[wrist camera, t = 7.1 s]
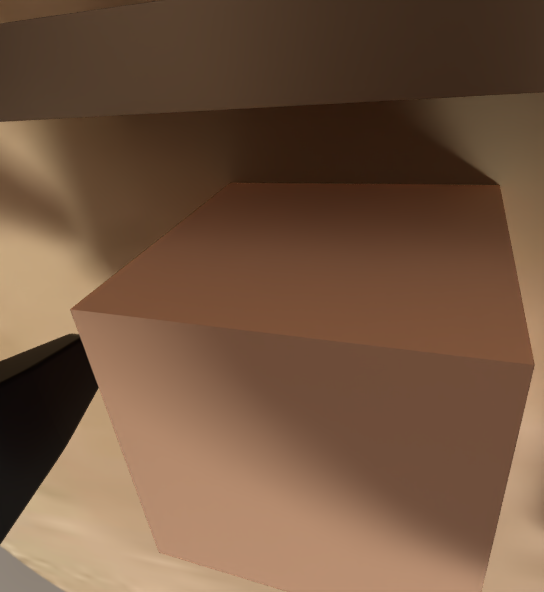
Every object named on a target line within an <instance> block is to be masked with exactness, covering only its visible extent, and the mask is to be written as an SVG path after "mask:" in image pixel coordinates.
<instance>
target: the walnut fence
mask: <svg viewBox="0 0 544 592" xmlns="http://www.w3.org/2000/svg"><path fill="white" fill-rule="evenodd" d="M539 92H544V0H160V1H153V2H146V3H139V4H132V5H125V6H119V7H112V8H105V9H98V10H91V11H84V12H77V13H70V14H63V15H56V16H50V17H43V18H36V19H29V20H22V21H15V22H8V23H1V24H0V122H5V121H23V120H41V119H60V118H78V117H97V116H115V115H134V114H152V113H170V112H189V111H207V110H226V109H244V108H263V107H281V106H299V105H318V104H336V103H355V102H373V101H392V100H410V99H428V98H447V97H465V96H484V95H502V94H520V93H539Z"/></svg>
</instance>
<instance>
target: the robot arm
mask: <svg viewBox="0 0 544 592" xmlns="http://www.w3.org/2000/svg"><path fill="white" fill-rule="evenodd" d="M98 388H99V387H98V384H97V381H96V379H95V376H94V373H93V371H92V368H91V365H90V362H89V360H88V357H87V354H86V351H85V349H84V346H83V343H82V340H81V338H80V335H79V334H68V335H65V336H63V337H60V338H58V339H55V340H53V341H50V342H48V343H45V344H43V345H40V346H38V347H35V348H33V349H30V350H27V351H25V352H22V353H20V354H17V355H15V356H12V357H10V358H7V359H5V360H2V361H0V544H1V543H2V541H3V540H4V538H5V537H6V535H7V534H8V532H9V531H10V529H11V528H12V526H13V525H14V523H15V522H16V520H17V519H18V518H19V516H20V515H21V513H22V512H23V510H24V509H25V507H26V506H27V504H28V503H29V501H30V500H31V498H32V497H33V495H34V494H35V492H36V491H37V489H38V488H39V486H40V485H41V483H42V482H43V480H44V479H45V478H46V476H47V475H48V473H49V472H50V470H51V469H52V467H53V466H54V464H55V463H56V461H57V460H58V458H59V457H60V455H61V454H62V452H63V450H64V449H65V447H66V446H67V444H68V442H69V440H70V439H71V437H72V435H73V433H74V432H75V430H76V428H77V426H78V424H79V423H80V421H81V419H82V417H83V415H84V413H85V412H86V410H87V408H88V406H89V404H90V403H91V401H92V399H93V397H94V395H95V393H96V392H97V390H98Z"/></svg>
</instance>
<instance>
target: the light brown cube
mask: <svg viewBox="0 0 544 592" xmlns="http://www.w3.org/2000/svg"><path fill="white" fill-rule="evenodd" d="M70 310H71V313H72V316H73V319H74V321H75V324H76V327H77V329H78V332H79V335H80V338H81V340H82V343H83V346H84V349H85V351H86V354H87V357H88V360H89V362H90V365H91V368H92V371H93V373H94V376H95V379H96V381H97V384H98V387H99V390H100V392H101V395H102V398H103V401H104V403H105V406H106V409H107V412H108V414H109V417H110V420H111V422H112V425H113V428H114V431H115V433H116V436H117V439H118V442H119V444H120V447H121V450H122V453H123V455H124V458H125V461H126V464H127V466H128V469H129V472H130V474H131V477H132V480H133V483H134V485H135V488H136V491H137V494H138V496H139V499H140V502H141V505H142V507H143V510H144V513H145V516H146V518H147V521H148V524H149V526H150V529H151V532H152V535H153V537H154V540H155V543H156V546H157V548H158V551H159V553H162V554H166V555H169V556H172V557H176V558H179V559H182V560H185V561H189V562H192V563H195V564H198V565H202V566H205V567H208V568H211V569H215V570H218V571H221V572H225V573H228V574H231V575H234V576H238V577H241V578H244V579H247V580H251V581H254V582H257V583H261V584H264V585H267V586H270V587H274V588H277V589H280V590H283V591H287V592H482V588H483V583H484V579H485V575H486V571H487V566H488V562H489V558H490V553H491V549H492V545H493V541H494V536H495V532H496V528H497V524H498V519H499V515H500V511H501V506H502V502H503V498H504V494H505V489H506V485H507V481H508V477H509V472H510V468H511V464H512V459H513V455H514V451H515V447H516V442H517V438H518V434H519V429H520V425H521V421H522V417H523V412H524V408H525V404H526V400H527V395H528V391H529V387H530V382H531V378H532V374H533V370H534V360H533V354H532V349H531V344H530V339H529V334H528V329H527V323H526V318H525V313H524V308H523V303H522V298H521V293H520V287H519V282H518V277H517V272H516V267H515V262H514V257H513V251H512V246H511V241H510V236H509V231H508V226H507V221H506V215H505V210H504V205H503V200H502V195H501V190H500V185H444V184H329V183H230V184H228V185H227V186H226V187H225V188H223V189H222V190H221V191H219V192H218V193H217V194H216V195H214V196H213V197H212V198H211V199H209V200H208V201H207V202H206V203H204V204H203V205H202V206H200V207H199V208H198V209H197V210H195V211H194V212H193V213H192V214H190V215H189V216H188V217H187V218H185V219H184V220H183V221H181V222H180V223H179V224H178V225H176V226H175V227H174V228H173V229H171V230H170V231H169V232H168V233H166V234H165V235H164V236H162V237H161V238H160V239H159V240H157V241H156V242H155V243H154V244H152V245H151V246H150V247H149V248H147V249H146V250H145V251H143V252H142V253H141V254H140V255H138V256H137V257H136V258H135V259H133V260H132V261H131V262H130V263H128V264H127V265H126V266H124V267H123V268H122V269H121V270H119V271H118V272H117V273H116V274H114V275H113V276H112V277H111V278H109V279H108V280H107V281H105V282H104V283H103V284H102V285H100V286H99V287H98V288H97V289H95V290H94V291H93V292H92V293H90V294H89V295H88V296H86V297H85V298H84V299H83V300H81V301H80V302H79V303H78V304H76V305H75V306H74V307H73V308H71V309H70Z"/></svg>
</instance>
